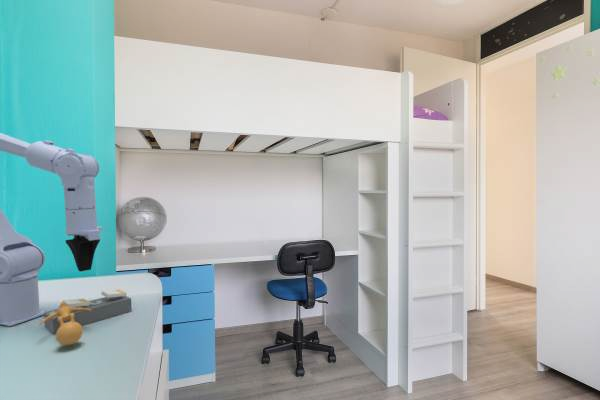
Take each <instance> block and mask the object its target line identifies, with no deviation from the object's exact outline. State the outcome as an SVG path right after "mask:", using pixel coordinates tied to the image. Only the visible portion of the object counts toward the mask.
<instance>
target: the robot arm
mask: <svg viewBox="0 0 600 400" xmlns="http://www.w3.org/2000/svg"><path fill="white" fill-rule="evenodd" d="M75 151H76V150H75V149H72V148H63V147H60V146H56V145H55V142H53V141H50V140H46V139H45V140H43V141H40V140H39V141H35V142H33V143H30V142H27V141H24V140H22V139H18V138H16V137H13V136H11V135H8V134H5V133H2V132H0V152H4V153H8V154H10V155H14V156H18V157H21V158H25V160H26V162H27V164H28V165H30V166H31V167H34V168H37V169H40V170H42V171H46V172H49V173H53V174H56V175H57V176H58V177H59V178H60V179H61V185H62V186H63V196H64V197H63V198H64V213H65V214H64V215H65V227H66V228H65V234H66V236H67V237H72V239H66V240H65V244H66V245H67V246H68V248H69V250H70V251H71V254H72V256H73V259H74V263H75V265H76V268H77V271H79V272H85V271H91V270H92V266H93V262H94V257H95V253H96V250H97V247H98V245H99V243H100V241H101V231H103V230H104V227H103V226H98V217H97V204H96V203H97V202H96V187H95V186H96V183H95V178H96V177H97V176H98V174H99V171H100V164H99V161H97V159H96V158H94V157H93V156H91V155H90V154H87V153H85V154H81V153H76V152H75ZM45 262H46V256H45V252H44V251H43V250H42V249H41V247H39V246H38V245H36V244H35V243H33V241H32V239H31V238H29V237H28V236H26V235H23V234H20V233H18V232H17V231H16V230H15V228H14V227H13V225H12V224H11V222H10V220H9V219H8V218H7V216H6V215H5V213H4V212H3V209H1V207H0V325H3V326H8V327H12V326H13V327H14V326H16V325H18V324H21V323H24V322H28V321H30V320H33V319H36V318H39V317H41V316H44V312H47V311H49V310H48V309H47V310H46V309H42V308H41V309H40V292H39V277H38V275H39V274H40V269H42V267H44V265H45Z"/></svg>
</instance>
